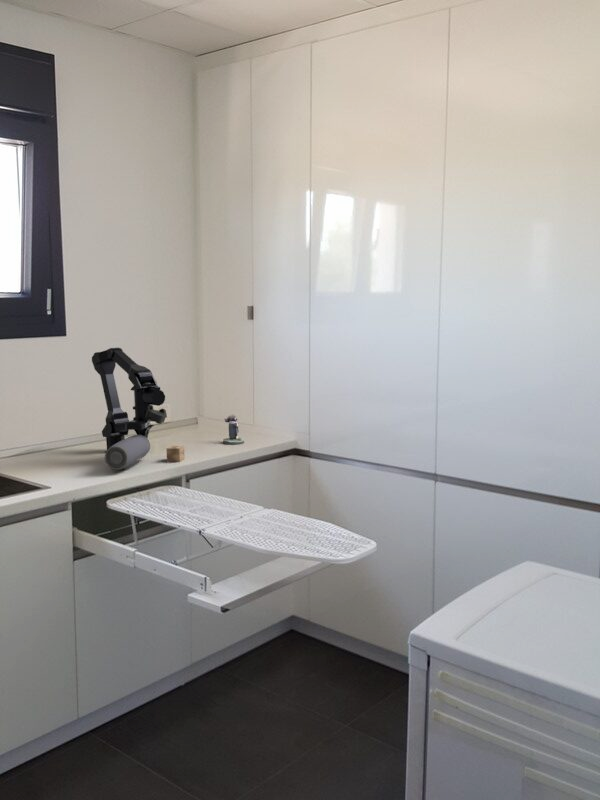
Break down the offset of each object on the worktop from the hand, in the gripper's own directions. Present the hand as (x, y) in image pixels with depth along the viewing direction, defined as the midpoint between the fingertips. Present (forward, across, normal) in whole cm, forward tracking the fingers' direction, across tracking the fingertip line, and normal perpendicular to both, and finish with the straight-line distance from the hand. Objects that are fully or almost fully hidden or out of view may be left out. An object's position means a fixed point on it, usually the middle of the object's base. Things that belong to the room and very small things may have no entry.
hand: (144, 444), depth 297 cm
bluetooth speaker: (+5, -14, 0) cm, 15 cm away
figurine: (+6, +34, -24) cm, 42 cm away
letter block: (+5, -2, -13) cm, 14 cm away
